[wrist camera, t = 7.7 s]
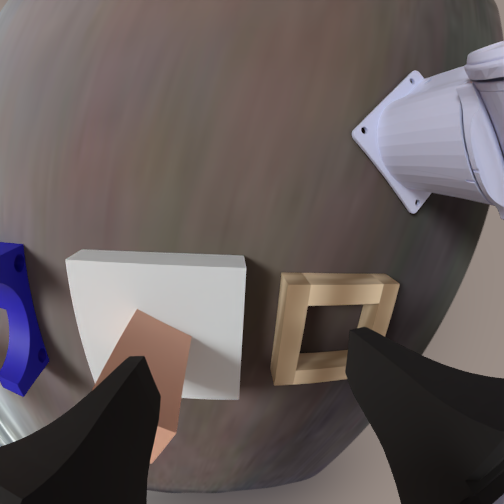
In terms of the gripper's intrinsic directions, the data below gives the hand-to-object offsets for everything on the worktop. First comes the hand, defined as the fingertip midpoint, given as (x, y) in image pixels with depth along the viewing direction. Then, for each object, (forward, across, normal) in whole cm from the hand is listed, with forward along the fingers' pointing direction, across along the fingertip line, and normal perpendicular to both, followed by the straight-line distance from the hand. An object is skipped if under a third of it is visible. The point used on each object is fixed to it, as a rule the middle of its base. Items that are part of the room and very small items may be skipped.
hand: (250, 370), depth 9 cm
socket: (+10, -6, +6) cm, 13 cm away
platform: (+10, +6, +4) cm, 13 cm away
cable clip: (+11, +21, +1) cm, 24 cm away
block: (+8, +6, +4) cm, 11 cm away
